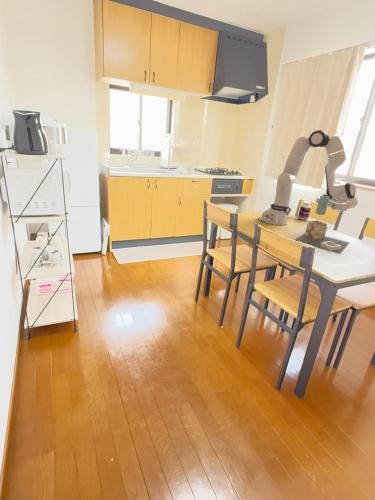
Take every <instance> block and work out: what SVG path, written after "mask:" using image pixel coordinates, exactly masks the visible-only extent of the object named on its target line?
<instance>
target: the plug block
mask: <svg viewBox="0 0 375 500" xmlns="http://www.w3.org/2000/svg"><path fill="white" fill-rule="evenodd" d="M319 197H320V198H319V202H318V203H317V207H316V211H315V214H316V215H320V216H325V214H326V212H327V208H328V206H324V204H325V203H328V201H329V198H330V197H328V196H327V194H326V193H325V194H323V195H320V196H319Z"/></svg>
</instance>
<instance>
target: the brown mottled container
mask: <svg viewBox="0 0 375 500" xmlns="http://www.w3.org/2000/svg"><path fill="white" fill-rule="evenodd" d="M327 230H328V224H327V223H325V222H323V221H320V220H309V221H308V223H306V227H305V230H304V233H305V235H307V236H309V237H311V238H313V239H320V238H324V237H325V236H326V234H327V233H326V232H327Z"/></svg>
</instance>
